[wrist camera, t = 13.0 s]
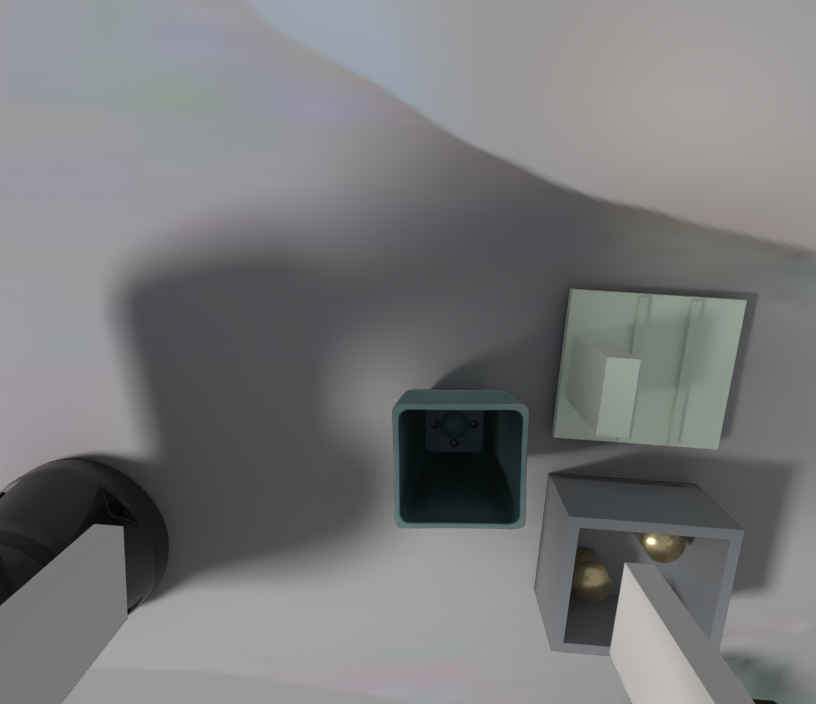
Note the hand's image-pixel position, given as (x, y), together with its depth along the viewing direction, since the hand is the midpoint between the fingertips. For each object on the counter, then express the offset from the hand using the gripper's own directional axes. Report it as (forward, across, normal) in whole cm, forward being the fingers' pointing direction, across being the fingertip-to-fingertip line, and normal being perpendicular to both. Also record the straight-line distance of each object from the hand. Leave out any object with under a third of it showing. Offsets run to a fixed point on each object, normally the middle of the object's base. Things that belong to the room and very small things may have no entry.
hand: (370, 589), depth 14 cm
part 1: (+28, +16, -17) cm, 36 cm away
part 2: (+28, +21, -12) cm, 37 cm away
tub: (+29, +19, -14) cm, 37 cm away
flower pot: (+29, +5, -5) cm, 30 cm away
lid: (+28, +18, 0) cm, 33 cm away
